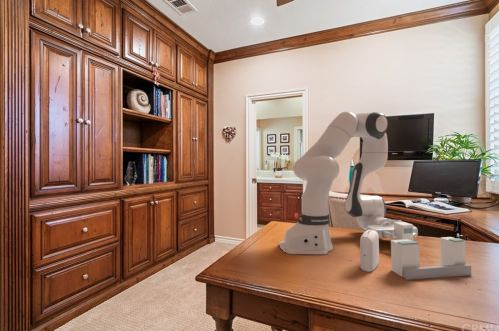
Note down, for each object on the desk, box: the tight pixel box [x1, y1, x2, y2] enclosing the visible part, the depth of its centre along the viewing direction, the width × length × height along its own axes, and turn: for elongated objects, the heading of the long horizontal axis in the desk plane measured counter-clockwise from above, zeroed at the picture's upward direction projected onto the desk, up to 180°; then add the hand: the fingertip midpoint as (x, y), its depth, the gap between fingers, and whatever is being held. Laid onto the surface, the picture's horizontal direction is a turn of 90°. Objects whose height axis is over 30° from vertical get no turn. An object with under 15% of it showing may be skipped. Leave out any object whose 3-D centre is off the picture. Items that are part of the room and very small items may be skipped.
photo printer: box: [359, 230, 380, 273], centre depth 85 cm, size 10×4×12 cm, turn 139°
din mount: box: [390, 236, 472, 280], centre depth 79 cm, size 22×7×10 cm, turn 96°
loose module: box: [393, 221, 414, 241], centre depth 99 cm, size 4×5×11 cm
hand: (405, 236), depth 98 cm, fingers open, 7 cm apart
